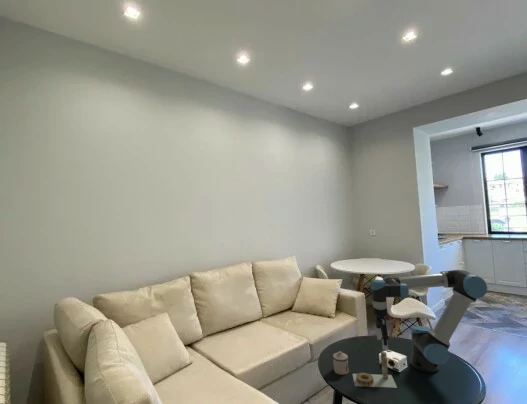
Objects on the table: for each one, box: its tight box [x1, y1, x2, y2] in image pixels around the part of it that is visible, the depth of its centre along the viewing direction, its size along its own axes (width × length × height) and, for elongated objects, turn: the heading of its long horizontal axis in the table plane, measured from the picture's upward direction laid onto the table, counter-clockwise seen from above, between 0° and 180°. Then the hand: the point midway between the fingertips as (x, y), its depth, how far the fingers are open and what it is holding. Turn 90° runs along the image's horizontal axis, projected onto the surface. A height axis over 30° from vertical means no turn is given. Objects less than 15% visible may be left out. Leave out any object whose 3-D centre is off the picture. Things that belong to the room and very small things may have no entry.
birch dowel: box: [380, 351, 389, 379], centre depth 166 cm, size 3×3×14 cm
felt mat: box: [352, 373, 398, 389], centre depth 164 cm, size 22×12×1 cm, turn 80°
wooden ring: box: [356, 372, 374, 388], centre depth 163 cm, size 9×9×2 cm
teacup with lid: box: [332, 350, 350, 376], centre depth 177 cm, size 12×9×12 cm
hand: (382, 344), depth 166 cm, fingers open, 13 cm apart
